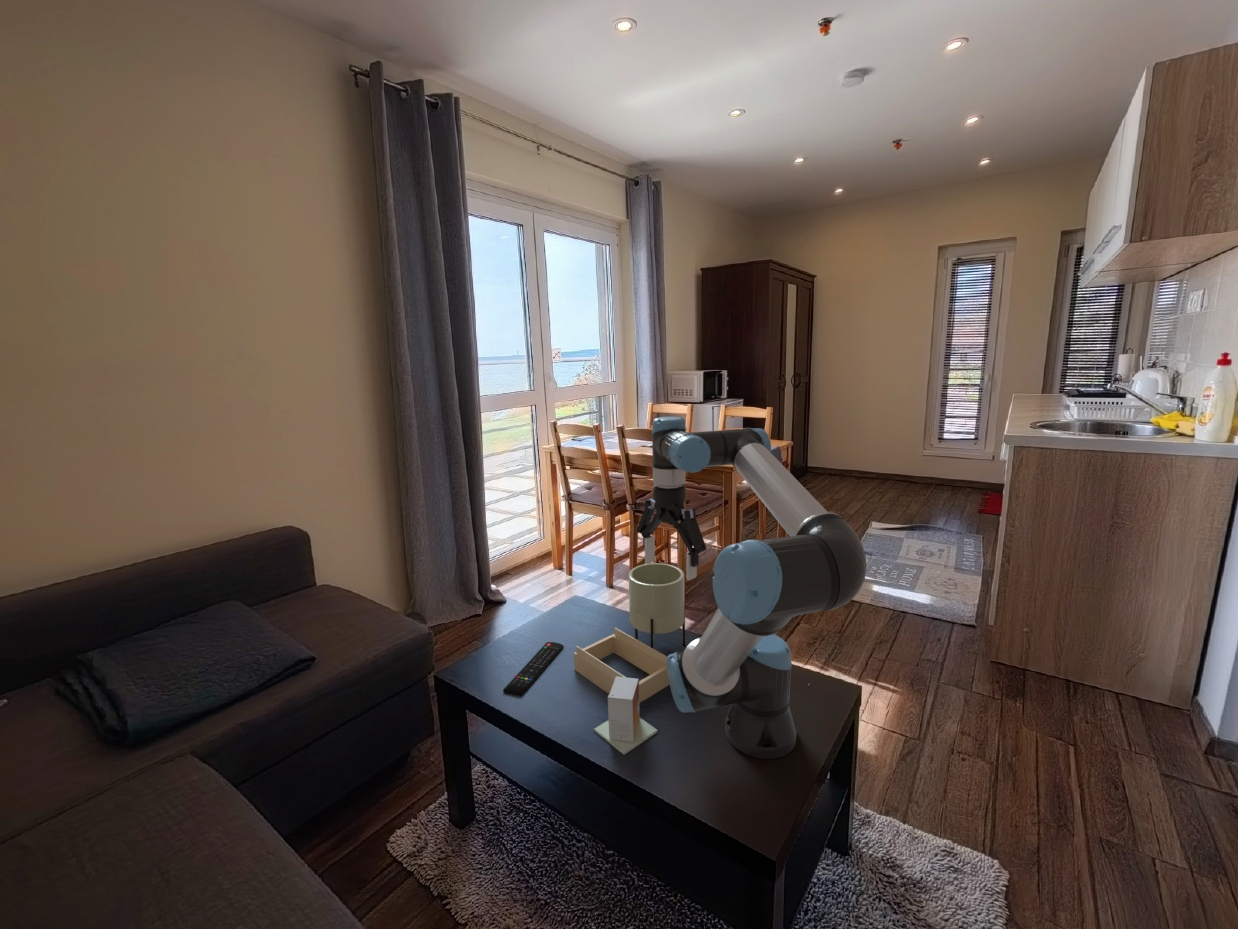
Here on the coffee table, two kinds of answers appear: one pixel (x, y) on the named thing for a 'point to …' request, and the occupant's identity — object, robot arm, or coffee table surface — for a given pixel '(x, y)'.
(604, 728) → the pad
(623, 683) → the small box
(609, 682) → the tray
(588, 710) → the coffee table surface
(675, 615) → the planter
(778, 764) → the coffee table surface
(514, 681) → the remote control
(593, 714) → the coffee table surface
